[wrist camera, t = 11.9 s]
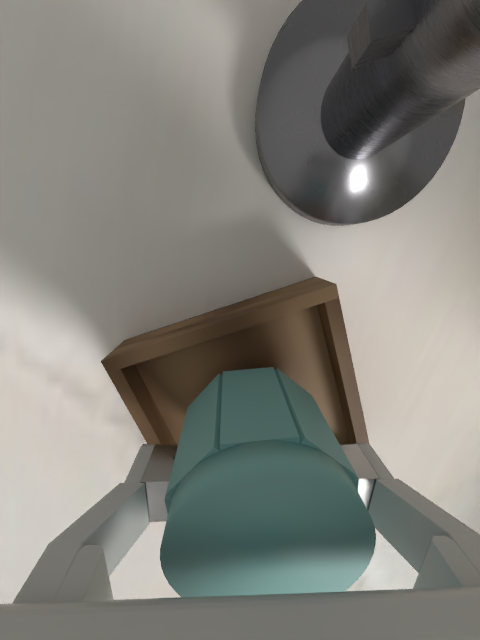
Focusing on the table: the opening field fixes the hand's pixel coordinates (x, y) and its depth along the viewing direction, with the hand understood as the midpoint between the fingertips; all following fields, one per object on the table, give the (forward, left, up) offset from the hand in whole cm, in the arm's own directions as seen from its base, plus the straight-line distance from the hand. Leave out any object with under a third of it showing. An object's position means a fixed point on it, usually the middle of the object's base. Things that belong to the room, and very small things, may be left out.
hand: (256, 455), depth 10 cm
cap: (0, 0, -2) cm, 2 cm away
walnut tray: (0, 0, -4) cm, 4 cm away
